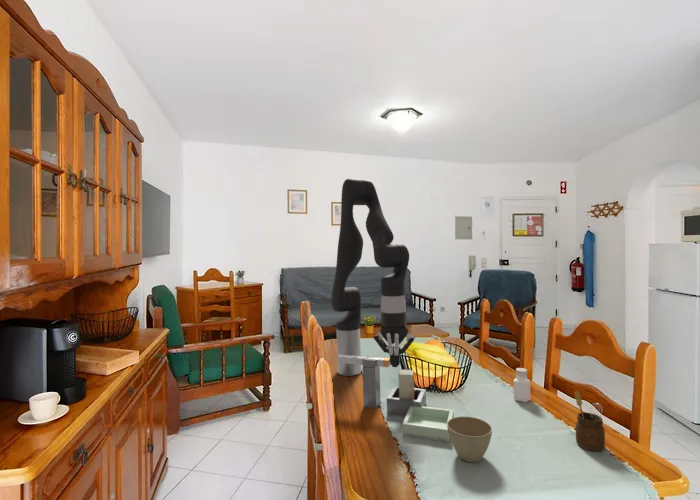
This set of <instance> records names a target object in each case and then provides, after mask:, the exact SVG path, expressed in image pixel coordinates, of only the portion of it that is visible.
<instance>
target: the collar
mask: <svg viewBox="0 0 700 500" xmlns="http://www.w3.org/2000/svg"><path fill="white" fill-rule="evenodd" d="M426 405H427V389H426V388H425V389H424V388H418V387H417V388H416V387H414V400H412V399H403V398H399V385H398V386H397V385H396V386H395V385H394V386H393V387H392V389H391V391H390V392H389V394H388V395H387V397H386V414H389V415H395V416H396V415H397V416H403V417H406V415H407V412H408V410H409V408H410V406H413V407H421V406H425V407H426Z"/></svg>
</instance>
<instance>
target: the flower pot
mask: <svg viewBox="0 0 700 500" xmlns="http://www.w3.org/2000/svg"><path fill="white" fill-rule="evenodd" d="M447 428H448V433H449V437H450V443H451V444H452V447H453V448H454V450H455V453H456V454H457V456H458V457H459V458H460V459H461V460H463V461H465V462H469V463H475V462H476V463H477V462H479V461H481V459H482V458H483V457H484V456H485V454H486V452H487V450H488V448H489V446H490V442H491V439H492V434H493V427H492V426H491V424H490V423H488V422H487V421H485V420H484V419H480V418H477V417H472V416H463V415H462V416H454V418H452V419H450V420H449V421H448V422H447Z"/></svg>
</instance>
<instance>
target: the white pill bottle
mask: <svg viewBox="0 0 700 500" xmlns="http://www.w3.org/2000/svg"><path fill="white" fill-rule="evenodd" d="M515 376H516V377H515V378H514V379H513V399H514V401H517V402H520V403H521V402H522V403H527V402H529V401H530V399H531V381H530V379H528V370H527V369H526V368H525V367H524V368H523V367H517V368H515Z"/></svg>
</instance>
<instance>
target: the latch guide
mask: <svg viewBox="0 0 700 500" xmlns="http://www.w3.org/2000/svg"><path fill="white" fill-rule="evenodd" d="M365 357H377V358H380V357H379V356H374V355H366V356H365ZM380 367H381V366H376V360H370V359H363V365H362V366H361V369H362V392H363V395H362V396H363V397H362V399H363V407H364V408H369V409H377V408H378V407H379V404H380V403H381V375H380V373H381V372H380V371H381V370H380Z"/></svg>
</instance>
